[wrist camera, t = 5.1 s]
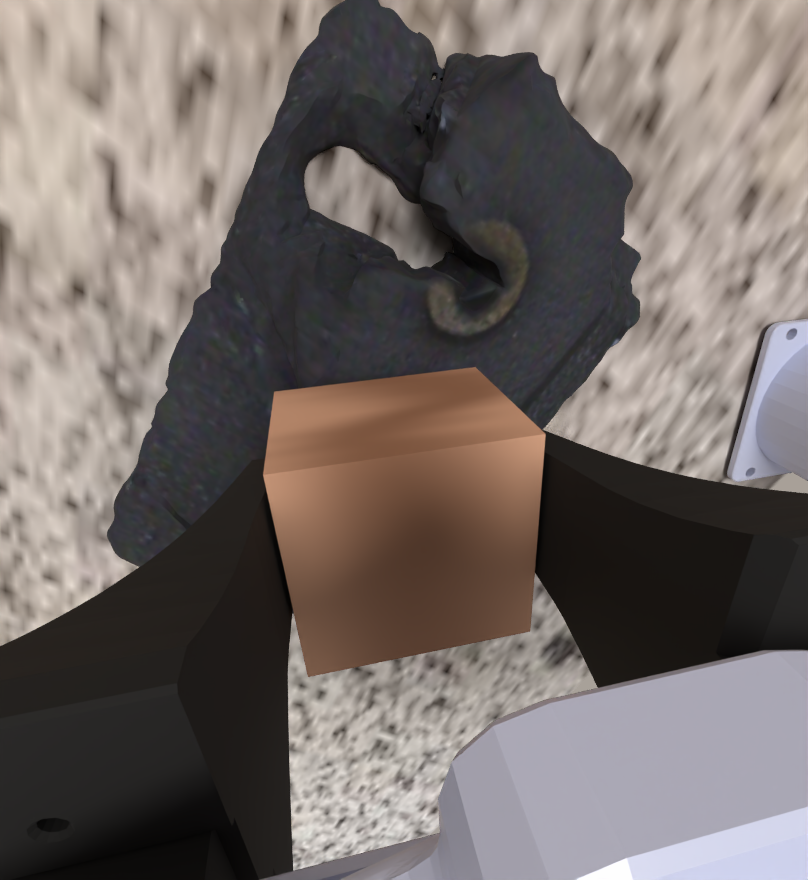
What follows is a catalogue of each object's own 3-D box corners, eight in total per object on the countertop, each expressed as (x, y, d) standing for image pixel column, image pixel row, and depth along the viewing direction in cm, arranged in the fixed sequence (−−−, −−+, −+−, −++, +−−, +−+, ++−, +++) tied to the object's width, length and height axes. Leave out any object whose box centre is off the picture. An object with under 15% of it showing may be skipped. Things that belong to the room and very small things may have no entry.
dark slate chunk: (53, 503, 19) (-15, 585, 15) (369, -57, 14) (399, -168, 10) (365, 627, 26) (378, 710, 21) (670, 269, 20) (767, 287, 16)
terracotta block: (475, 366, 12) (545, 434, 9) (474, 527, 15) (530, 631, 11) (273, 391, 12) (263, 474, 8) (306, 555, 14) (307, 677, 10)
